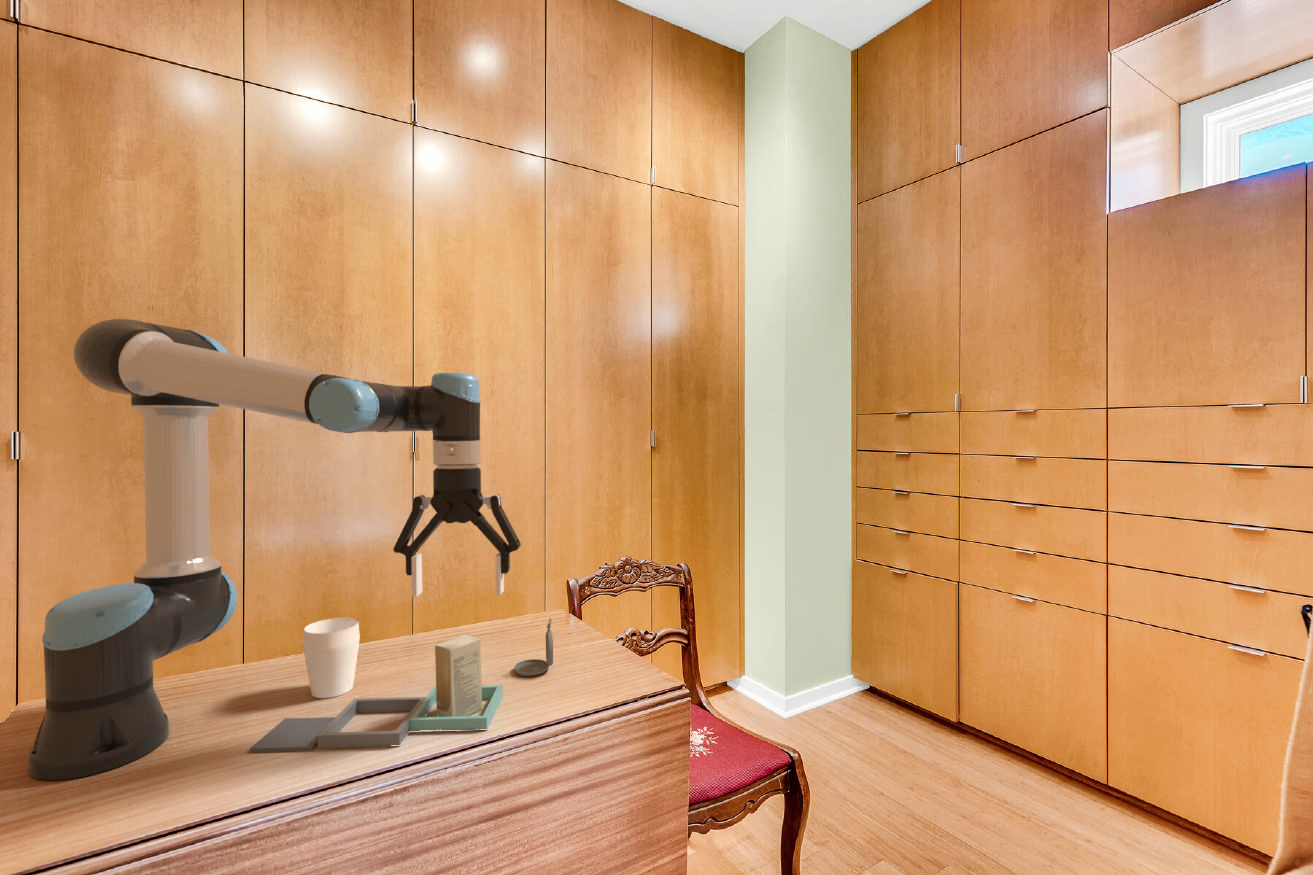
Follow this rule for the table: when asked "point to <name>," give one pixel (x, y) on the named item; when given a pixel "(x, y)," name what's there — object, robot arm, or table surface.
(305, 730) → the slate mat
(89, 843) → the table surface
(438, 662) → the skincare box
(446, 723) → the teal frame
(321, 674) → the cup
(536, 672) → the pocket watch
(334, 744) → the grey frame
